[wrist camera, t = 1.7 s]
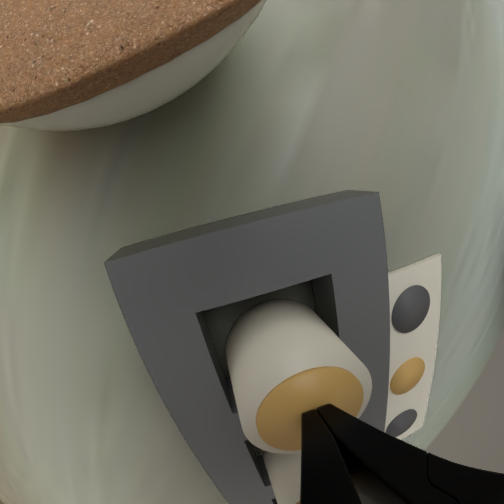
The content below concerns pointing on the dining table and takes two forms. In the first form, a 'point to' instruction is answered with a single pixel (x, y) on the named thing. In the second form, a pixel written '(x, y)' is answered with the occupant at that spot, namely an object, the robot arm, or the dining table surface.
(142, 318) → the board
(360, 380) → the button
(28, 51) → the lidded jar
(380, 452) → the robot arm
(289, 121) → the dining table surface
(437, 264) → the card
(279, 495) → the button
